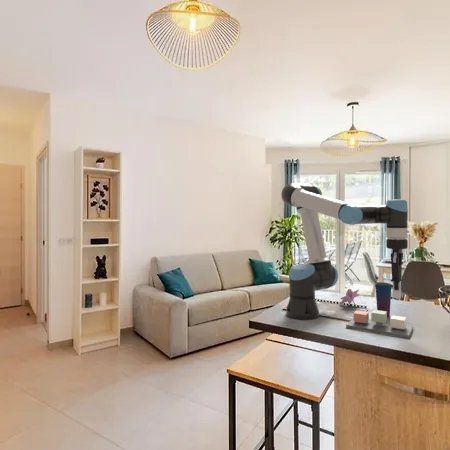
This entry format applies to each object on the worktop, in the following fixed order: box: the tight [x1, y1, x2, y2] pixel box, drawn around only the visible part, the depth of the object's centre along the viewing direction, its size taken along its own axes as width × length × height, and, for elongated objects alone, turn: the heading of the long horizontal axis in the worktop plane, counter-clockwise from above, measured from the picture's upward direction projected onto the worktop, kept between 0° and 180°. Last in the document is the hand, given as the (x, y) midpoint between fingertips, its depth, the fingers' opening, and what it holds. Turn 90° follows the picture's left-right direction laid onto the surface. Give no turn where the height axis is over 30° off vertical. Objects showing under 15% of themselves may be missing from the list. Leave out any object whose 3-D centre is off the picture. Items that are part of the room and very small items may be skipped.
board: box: [345, 317, 414, 339], centre depth 135 cm, size 23×13×3 cm, turn 55°
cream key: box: [389, 315, 407, 330], centre depth 131 cm, size 5×5×4 cm
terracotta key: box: [352, 309, 370, 323], centre depth 139 cm, size 5×5×4 cm
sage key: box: [370, 309, 388, 323], centre depth 135 cm, size 5×5×4 cm
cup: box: [374, 281, 393, 319], centre depth 151 cm, size 7×7×15 cm
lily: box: [338, 288, 360, 309], centre depth 168 cm, size 12×12×10 cm
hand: (396, 297), depth 131 cm, fingers closed
